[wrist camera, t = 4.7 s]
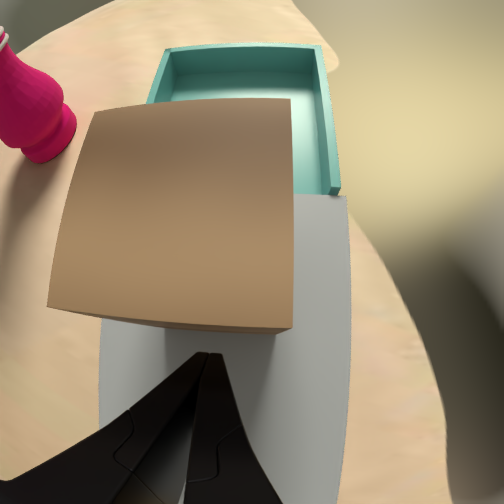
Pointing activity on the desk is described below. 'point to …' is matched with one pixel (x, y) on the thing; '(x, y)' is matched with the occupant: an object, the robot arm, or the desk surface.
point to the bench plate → (267, 363)
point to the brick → (182, 218)
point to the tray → (263, 96)
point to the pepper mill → (32, 108)
